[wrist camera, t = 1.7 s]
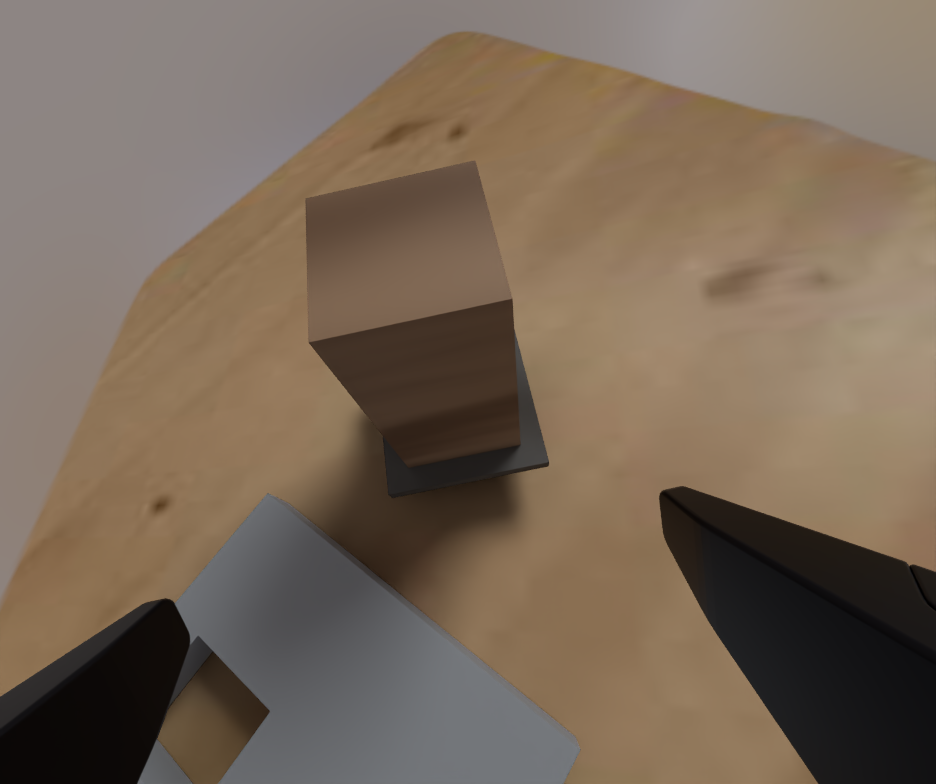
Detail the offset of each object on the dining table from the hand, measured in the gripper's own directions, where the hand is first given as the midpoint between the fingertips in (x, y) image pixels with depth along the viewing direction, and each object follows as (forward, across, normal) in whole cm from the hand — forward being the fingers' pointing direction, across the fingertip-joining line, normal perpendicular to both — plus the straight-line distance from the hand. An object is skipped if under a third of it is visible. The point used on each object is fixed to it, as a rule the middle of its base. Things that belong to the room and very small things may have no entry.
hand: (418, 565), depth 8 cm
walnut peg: (+15, -1, +3) cm, 16 cm away
